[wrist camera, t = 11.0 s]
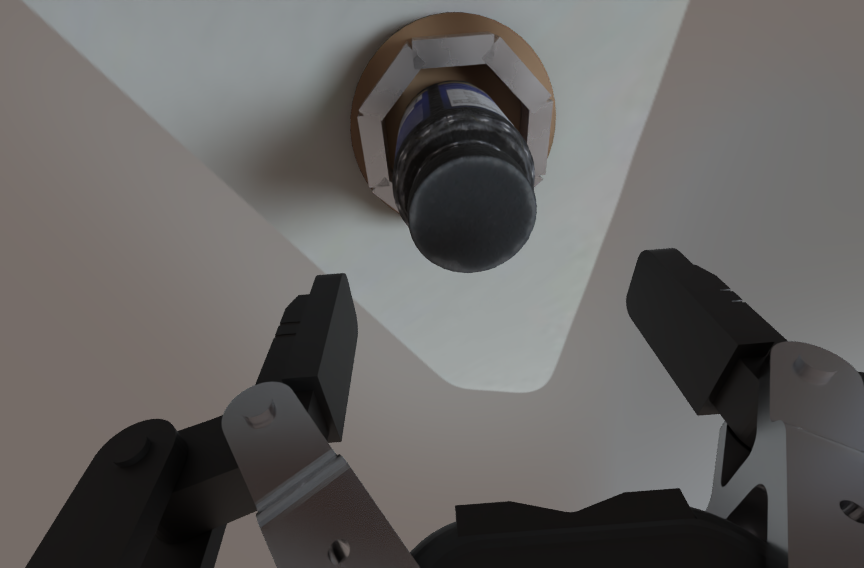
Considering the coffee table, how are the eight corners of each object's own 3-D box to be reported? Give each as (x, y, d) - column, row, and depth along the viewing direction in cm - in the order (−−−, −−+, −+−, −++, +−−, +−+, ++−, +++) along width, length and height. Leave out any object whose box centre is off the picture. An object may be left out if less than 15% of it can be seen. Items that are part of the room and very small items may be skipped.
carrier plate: (370, 223, 28) (365, 248, 25) (334, 21, 21) (321, 24, 18) (538, 211, 28) (552, 235, 25) (560, 3, 21) (583, 3, 18)
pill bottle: (426, 200, 25) (430, 309, 16) (378, 110, 22) (351, 184, 13) (516, 159, 24) (575, 253, 15) (480, 55, 21) (528, 96, 12)
